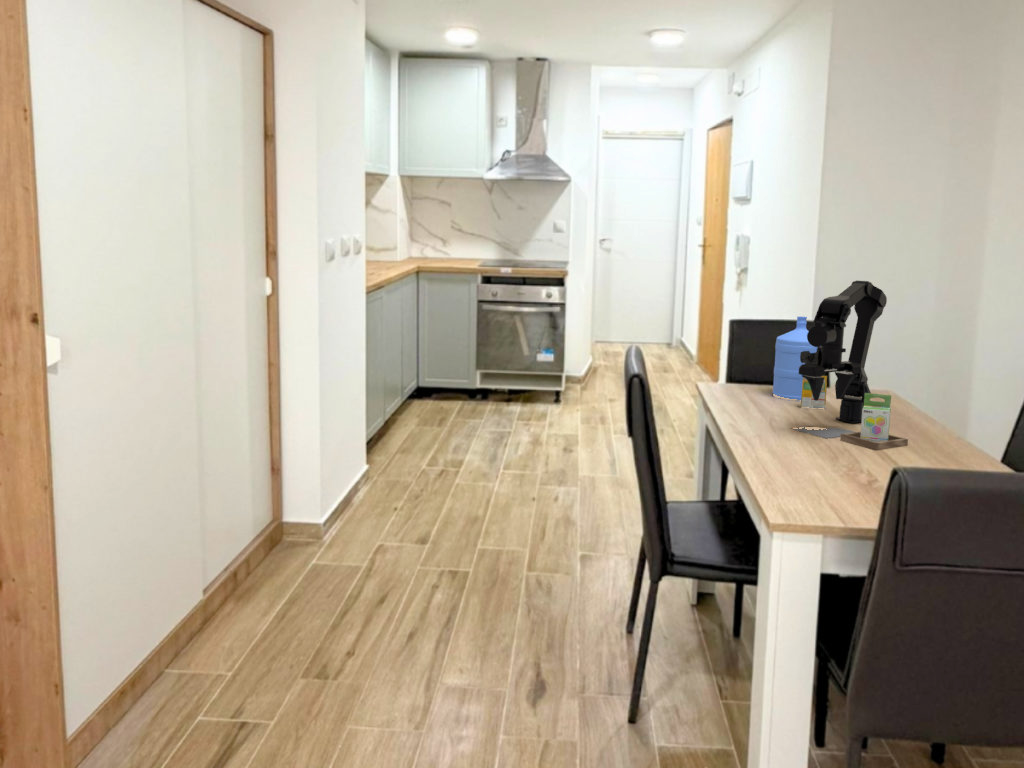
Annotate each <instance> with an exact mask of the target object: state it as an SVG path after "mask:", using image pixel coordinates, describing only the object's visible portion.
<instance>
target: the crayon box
mask: <svg viewBox="0 0 1024 768" xmlns="http://www.w3.org/2000/svg"><path fill="white" fill-rule="evenodd" d="M821 377H824V382H823V385H822V389H821V393H820V396H819V399H818V401H815V400H814V398H813V394H812V391H811V387H810V385H809V382H808V381H807V379H806V378H804V377H803V380H802V397H801V401H800V408H801V407H809V408H824V409H825V410H826V401H827V388H828V375H823V376H821Z"/></svg>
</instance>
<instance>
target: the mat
mask: <svg viewBox="0 0 1024 768" xmlns="http://www.w3.org/2000/svg"><path fill="white" fill-rule="evenodd" d="M826 429H827V430H826ZM826 429H823V430H821V429H819V430H814V429H812V430H807V429H805V427H804V428H802V429H799V428H798V429H795V430H794V431H797V430H798V431H797V432H800V431H801V432H800V433H805V434H807V433H809V434H808V435H811V434H812V435H811V436H814V435H815V437H818V436H819V437H818V438H821V437H822V438H821V439H827V440H828V438H829V439H835V438H836V439H837V438H840V437H841V434H846V433H854V432H856V431H854V430H850V429H846V428H839V427H830V428H826Z"/></svg>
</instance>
